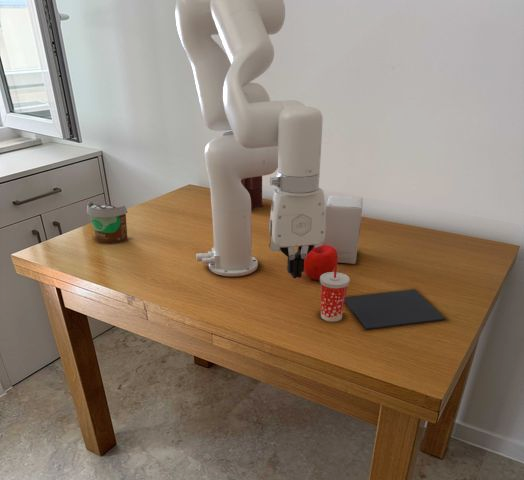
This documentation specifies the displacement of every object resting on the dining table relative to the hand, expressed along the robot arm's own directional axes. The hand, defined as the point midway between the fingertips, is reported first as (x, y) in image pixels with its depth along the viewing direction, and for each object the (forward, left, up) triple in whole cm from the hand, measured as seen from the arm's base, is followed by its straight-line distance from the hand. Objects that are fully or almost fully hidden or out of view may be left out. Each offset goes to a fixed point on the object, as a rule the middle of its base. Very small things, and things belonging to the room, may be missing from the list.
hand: (295, 275), depth 103 cm
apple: (+12, +19, -11) cm, 25 cm away
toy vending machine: (+6, +77, -11) cm, 78 cm away
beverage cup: (+9, 0, -11) cm, 14 cm away
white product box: (+22, +30, -11) cm, 39 cm away
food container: (-39, +56, -11) cm, 70 cm away
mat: (+23, 0, -11) cm, 25 cm away
